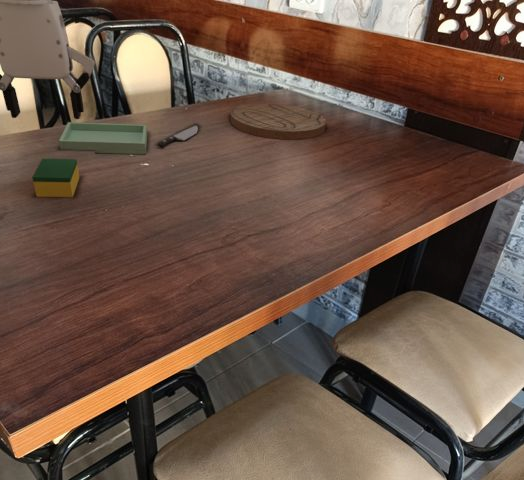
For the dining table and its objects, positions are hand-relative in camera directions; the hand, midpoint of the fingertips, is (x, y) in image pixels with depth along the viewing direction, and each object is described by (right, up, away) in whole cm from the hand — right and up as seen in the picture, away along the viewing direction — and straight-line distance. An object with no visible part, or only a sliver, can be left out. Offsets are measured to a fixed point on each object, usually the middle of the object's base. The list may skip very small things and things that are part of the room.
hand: (47, 116), depth 83 cm
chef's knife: (+17, +11, +35) cm, 41 cm away
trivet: (+40, +21, +50) cm, 67 cm away
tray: (+1, +7, +29) cm, 30 cm away
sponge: (-1, -10, +8) cm, 13 cm away
